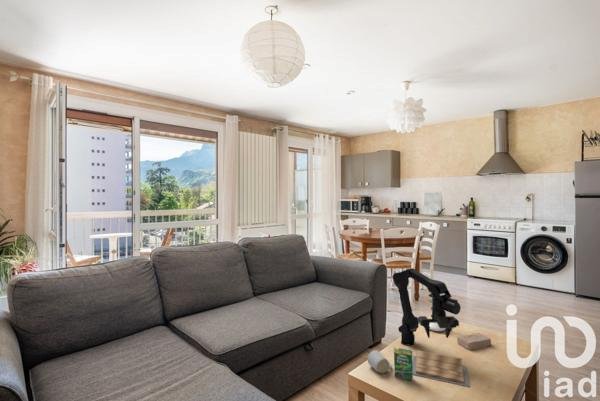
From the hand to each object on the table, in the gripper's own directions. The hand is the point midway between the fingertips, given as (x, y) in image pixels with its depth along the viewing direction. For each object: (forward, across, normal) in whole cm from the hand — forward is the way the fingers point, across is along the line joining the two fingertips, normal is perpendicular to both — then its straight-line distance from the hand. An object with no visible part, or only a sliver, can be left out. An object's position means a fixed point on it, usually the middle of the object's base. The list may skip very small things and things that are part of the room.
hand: (437, 337), depth 157 cm
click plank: (+9, -2, -7) cm, 11 cm away
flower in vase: (+12, +13, +35) cm, 39 cm away
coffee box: (+11, -22, -16) cm, 29 cm away
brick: (+12, +27, +15) cm, 33 cm away
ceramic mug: (+12, -31, -8) cm, 34 cm away
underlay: (+11, -4, -10) cm, 15 cm away
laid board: (+11, -5, -14) cm, 18 cm away
